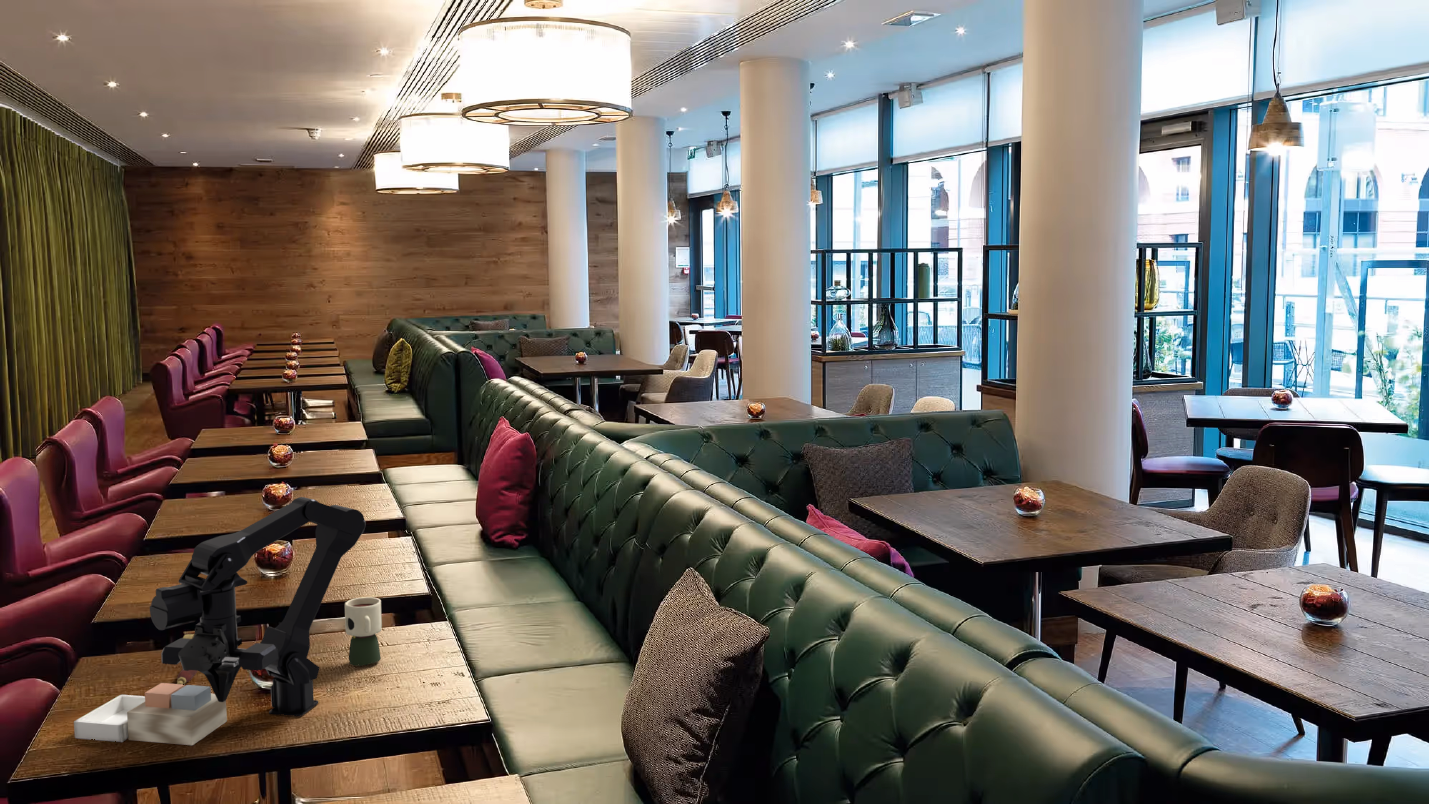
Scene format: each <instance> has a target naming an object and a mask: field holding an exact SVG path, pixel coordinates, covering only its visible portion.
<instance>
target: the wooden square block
mask: <svg viewBox="0 0 1429 804" xmlns="http://www.w3.org/2000/svg"><path fill="white" fill-rule="evenodd" d="M227 714H228V713H227V700H226V701H224V702H219V701H218V699H217V697H216V695H215V693H211V701H209V702H208V703H206V704H205V705H203V706H202V707H200V708H199V709H197V710H183V709H172V707H170V708H158V707H146V706H145V702H143V703H142V704H140V705H138V706H137V707H135V708H133V709H132V710H130V711H128V712H127V720H128V736H129V738H128V741H138V742H139V741H140V742H149V743H162V744H172V745H173V744H175V745H183V746H184V745H185V746H186V745H187V746H194V745H195V744H196V743H198V742H199V741H201V740H203V739H204V738H205V737H206V736H209V735H210V734H211V733H212V732H214V731H216V729H218V728H219V727H221V726H222V725H224V724H225V723H226V722H227V721H228V717H227V716H228V715H227Z"/></svg>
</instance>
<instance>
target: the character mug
mask: <svg viewBox="0 0 1429 804" xmlns="http://www.w3.org/2000/svg"><path fill="white" fill-rule="evenodd" d="M344 627H345V633H346V635H347V636H351V639H350V642H349V652H348V662H349V665H351V666H355V667H357V666H358V667H361V666H365V667H367V666H368V665H370V664H375V663H377V662H380V660H381V658H382V657H381V653H380V652H381V650H380V643H379V639H378V636H377V635H376V634H379V633H380V632H382V600H381V599H380V598H377V597H374V596H373V597H372V596H365V597H357V598H352V599H349V600H347V601H345V602H344Z"/></svg>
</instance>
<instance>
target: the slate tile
mask: <svg viewBox="0 0 1429 804" xmlns="http://www.w3.org/2000/svg"><path fill="white" fill-rule="evenodd" d="M211 688H212V687H211V686H208V685H207V686H205V685H193V684H186V685H185V687H183V688H181V689H180V690H178V691H176V692H175V693H173V694H171V704H172V709H183V710H197V709H199V708H200V707H202V706H203V705H205V704H206V703H208V702H209V701H211V694H212V689H211Z"/></svg>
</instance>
